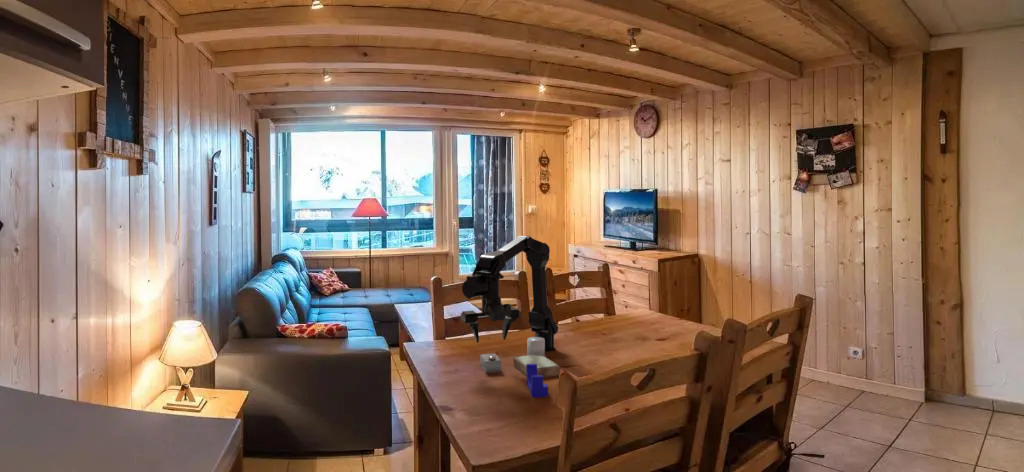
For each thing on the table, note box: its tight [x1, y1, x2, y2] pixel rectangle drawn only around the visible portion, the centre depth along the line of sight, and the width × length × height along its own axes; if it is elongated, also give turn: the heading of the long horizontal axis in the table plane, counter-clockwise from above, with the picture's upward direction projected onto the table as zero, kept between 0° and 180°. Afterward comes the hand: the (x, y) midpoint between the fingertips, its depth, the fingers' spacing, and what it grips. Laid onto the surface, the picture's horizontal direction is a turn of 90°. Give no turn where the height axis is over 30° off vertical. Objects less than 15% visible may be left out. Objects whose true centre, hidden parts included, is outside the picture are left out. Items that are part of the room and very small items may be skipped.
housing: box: [480, 352, 502, 374], centre depth 174 cm, size 5×8×5 cm, turn 15°
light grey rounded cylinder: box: [526, 336, 546, 357], centre depth 184 cm, size 6×6×7 cm
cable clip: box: [525, 363, 549, 398], centre depth 155 cm, size 12×4×6 cm, turn 6°
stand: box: [513, 354, 561, 378], centre depth 173 cm, size 10×14×3 cm
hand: (490, 340), depth 174 cm, fingers open, 9 cm apart
